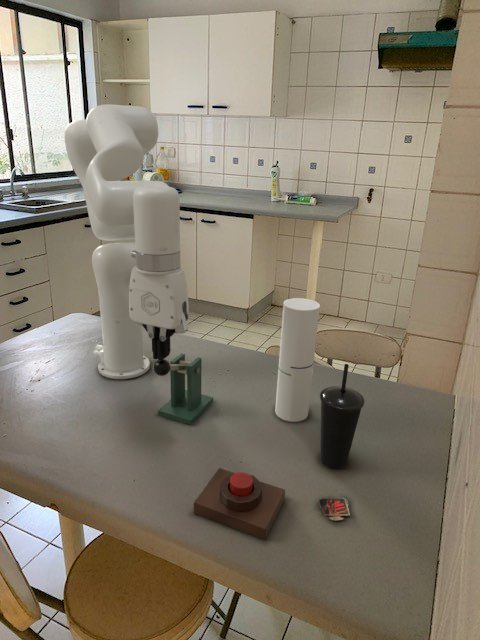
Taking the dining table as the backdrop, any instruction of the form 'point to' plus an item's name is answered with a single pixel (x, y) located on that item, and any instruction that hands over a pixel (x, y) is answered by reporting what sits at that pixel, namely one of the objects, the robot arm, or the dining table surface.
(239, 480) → the button
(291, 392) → the cylindrical container
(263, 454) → the dining table surface
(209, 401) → the switch bracket
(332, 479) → the dining table surface
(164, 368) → the switch lever
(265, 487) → the switch block
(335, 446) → the drinking cup
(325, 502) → the matchbox
